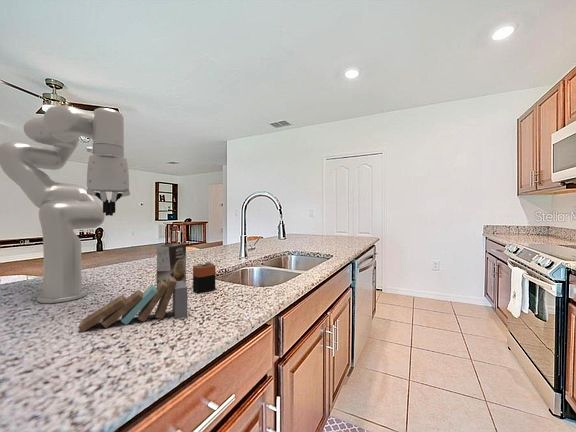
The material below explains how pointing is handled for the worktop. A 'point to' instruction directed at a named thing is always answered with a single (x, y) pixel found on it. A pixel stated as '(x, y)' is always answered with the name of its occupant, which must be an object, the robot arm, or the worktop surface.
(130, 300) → the domino
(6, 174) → the robot arm
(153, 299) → the domino
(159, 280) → the coffee box
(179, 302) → the block
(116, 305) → the domino
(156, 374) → the worktop surface
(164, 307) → the domino
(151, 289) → the domino
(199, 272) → the battery
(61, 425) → the worktop surface
